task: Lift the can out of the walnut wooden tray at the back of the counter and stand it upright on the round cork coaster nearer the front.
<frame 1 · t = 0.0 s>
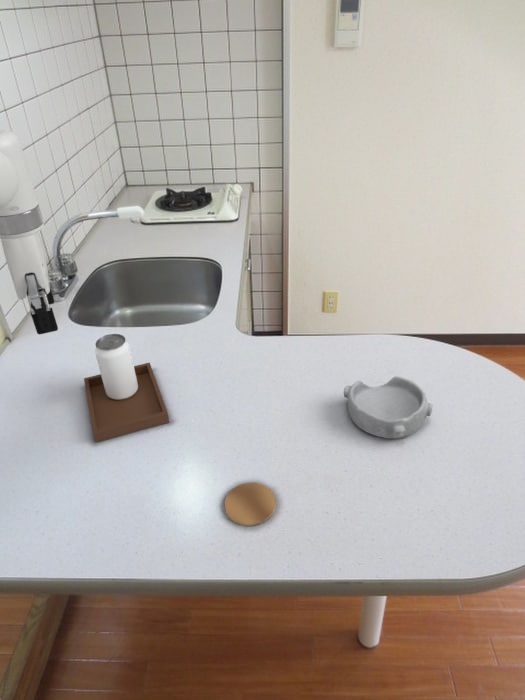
hand: (46, 317, 88), 22 cm above the table, tool pointing down, fingers open, 9 cm apart
tray: (126, 404, 104), on the table
can: (122, 391, 107), resting on tray
dish: (386, 417, 98), on the table
coaster: (250, 504, 82), on the table
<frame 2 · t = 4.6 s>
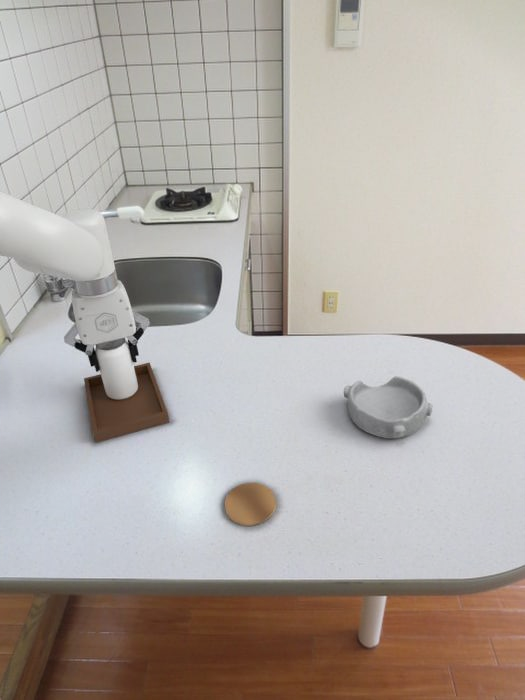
hand: (115, 362, 103), 7 cm above the table, tool pointing down, fingers closed on can, 6 cm apart
can: (122, 391, 107), resting on tray, touching gripper
everything else where it was.
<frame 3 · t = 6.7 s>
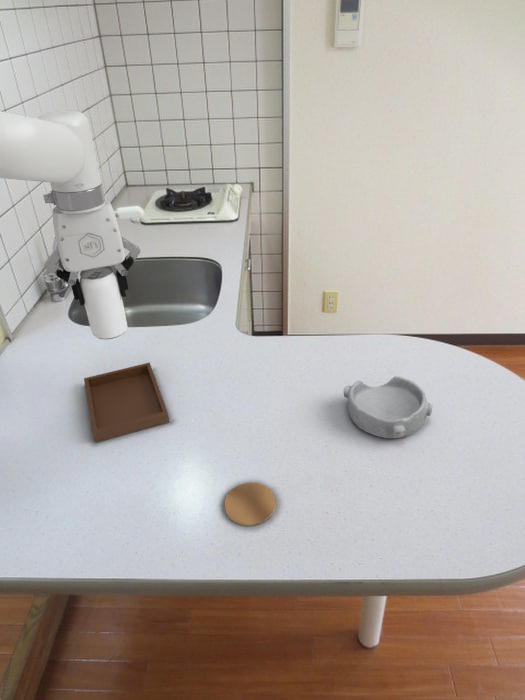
hand: (102, 297, 93), 23 cm above the table, tool pointing down, fingers closed on can, 6 cm apart
can: (110, 331, 97), point 16 cm above the table, touching gripper
everything else where it was.
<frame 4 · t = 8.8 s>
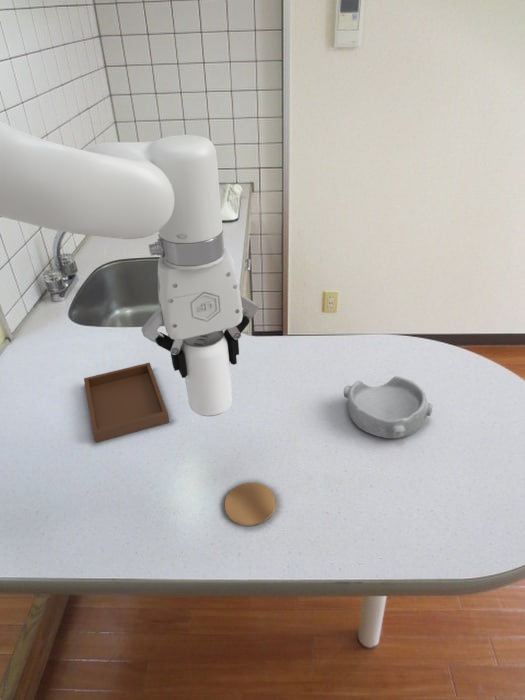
hand: (206, 364, 73), 23 cm above the table, tool pointing down, fingers closed on can, 6 cm apart
can: (211, 404, 78), point 16 cm above the table, touching gripper
everything else where it was.
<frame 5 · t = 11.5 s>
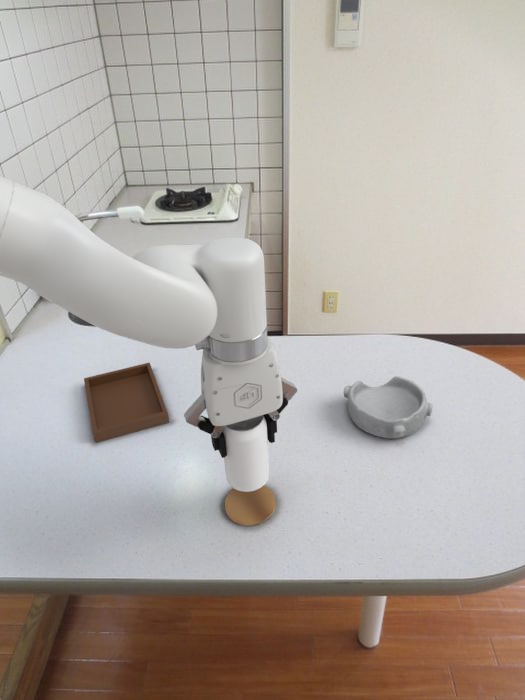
hand: (245, 442, 75), 13 cm above the table, tool pointing down, fingers closed on can, 6 cm apart
can: (247, 477, 79), point 6 cm above the table, touching gripper
everything else where it was.
when the fingers open (8 cm above the table, at t = 13.4 s): can stays where it is, resting on coaster.
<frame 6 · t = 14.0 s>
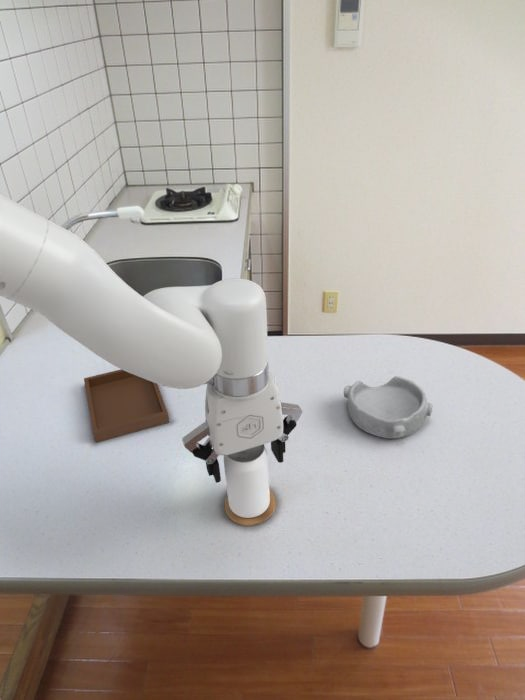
hand: (246, 465, 77), 9 cm above the table, tool pointing down, fingers open, 9 cm apart
can: (249, 503, 82), resting on coaster
everything else where it was.
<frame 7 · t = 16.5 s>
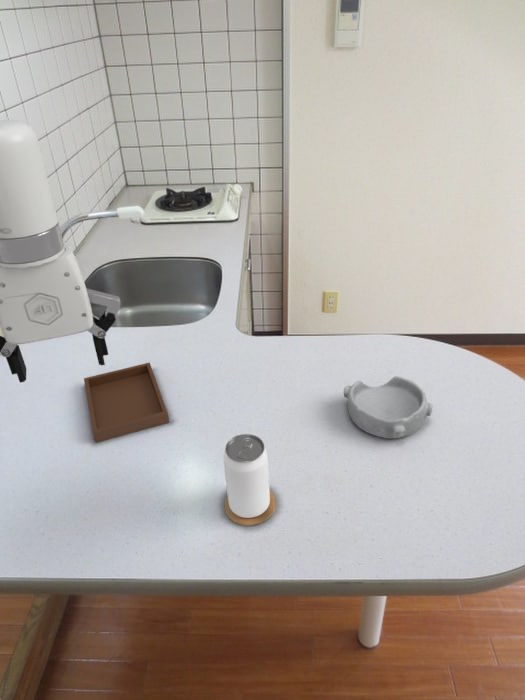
hand: (63, 367, 68), 27 cm above the table, tool pointing down, fingers open, 9 cm apart
nothing on the table moved.
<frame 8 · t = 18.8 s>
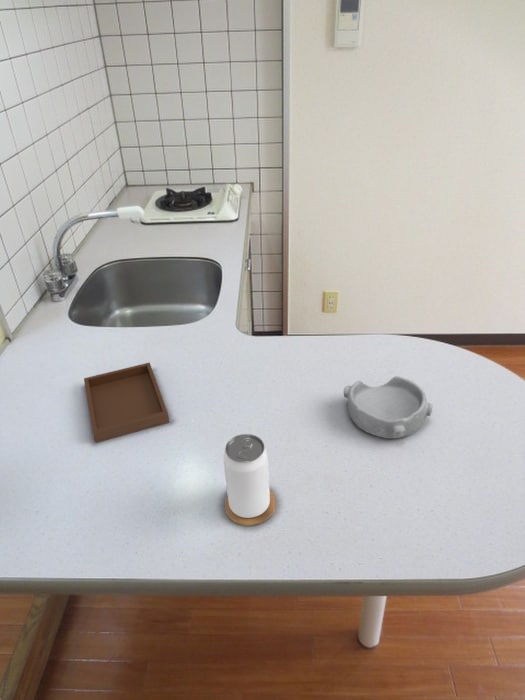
nothing on the table moved.
at the end: can 0.1 cm off-centre on the coaster, point 0.3 cm above the coaster's base; can tilted 0°; the gripper is holding nothing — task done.
